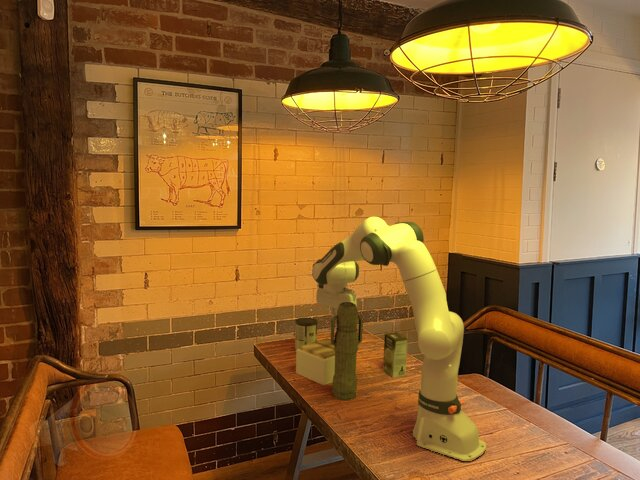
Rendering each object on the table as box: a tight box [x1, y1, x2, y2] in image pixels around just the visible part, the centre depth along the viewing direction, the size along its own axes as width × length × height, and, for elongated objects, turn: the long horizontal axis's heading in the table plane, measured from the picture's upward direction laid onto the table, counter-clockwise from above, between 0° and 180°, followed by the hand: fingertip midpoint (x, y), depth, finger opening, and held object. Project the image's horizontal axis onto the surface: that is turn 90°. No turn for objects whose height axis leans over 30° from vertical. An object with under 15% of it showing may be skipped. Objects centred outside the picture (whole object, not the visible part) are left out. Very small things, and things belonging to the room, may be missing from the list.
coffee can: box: [294, 317, 318, 352], centre depth 228 cm, size 10×10×14 cm
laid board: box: [300, 342, 335, 359], centre depth 198 cm, size 14×8×2 cm, turn 46°
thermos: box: [330, 302, 364, 401], centre depth 180 cm, size 9×12×35 cm
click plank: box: [316, 337, 334, 349], centre depth 204 cm, size 14×7×1 cm, turn 46°
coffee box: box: [382, 331, 409, 379], centre depth 204 cm, size 9×6×16 cm
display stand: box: [295, 349, 335, 386], centre depth 202 cm, size 16×18×10 cm
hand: (335, 318), depth 206 cm, fingers closed
